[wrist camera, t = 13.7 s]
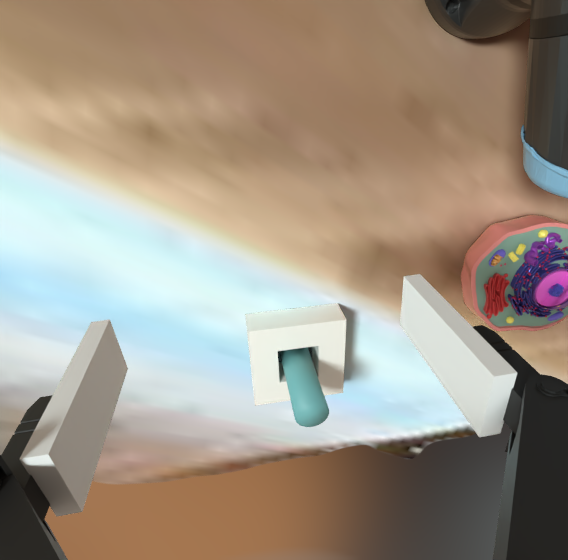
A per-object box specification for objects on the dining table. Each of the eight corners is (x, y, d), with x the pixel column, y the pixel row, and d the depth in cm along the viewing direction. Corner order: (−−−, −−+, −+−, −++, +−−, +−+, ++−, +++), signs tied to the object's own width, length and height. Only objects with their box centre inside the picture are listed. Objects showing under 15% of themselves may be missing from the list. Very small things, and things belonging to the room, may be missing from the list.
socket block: (337, 303, 58) (346, 319, 54) (335, 373, 64) (342, 392, 61) (245, 313, 56) (247, 331, 52) (252, 385, 63) (255, 405, 59)
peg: (305, 332, 60) (329, 399, 47) (306, 354, 62) (328, 423, 49) (278, 336, 59) (294, 404, 47) (279, 358, 61) (295, 429, 49)
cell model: (486, 177, 52) (550, 201, 42) (577, 233, 59) (650, 265, 49) (415, 279, 58) (455, 320, 48) (505, 319, 65) (556, 363, 55)
